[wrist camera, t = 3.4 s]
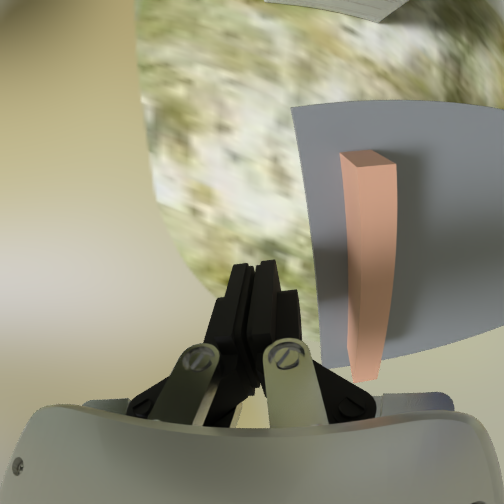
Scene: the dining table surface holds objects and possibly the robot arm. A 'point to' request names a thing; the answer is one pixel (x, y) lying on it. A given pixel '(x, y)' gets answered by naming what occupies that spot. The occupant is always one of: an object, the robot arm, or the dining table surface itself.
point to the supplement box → (351, 7)
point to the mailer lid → (402, 225)
